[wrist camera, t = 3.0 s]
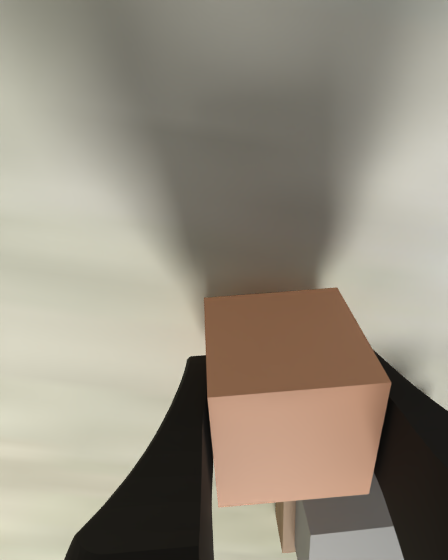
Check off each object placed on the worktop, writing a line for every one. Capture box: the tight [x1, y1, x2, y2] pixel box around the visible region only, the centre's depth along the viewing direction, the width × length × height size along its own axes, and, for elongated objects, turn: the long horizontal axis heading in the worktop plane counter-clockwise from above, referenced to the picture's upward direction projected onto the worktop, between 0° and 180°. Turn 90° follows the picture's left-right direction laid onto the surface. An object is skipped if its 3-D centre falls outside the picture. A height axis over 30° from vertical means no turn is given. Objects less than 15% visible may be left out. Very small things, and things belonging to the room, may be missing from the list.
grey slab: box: [295, 472, 404, 560], centre depth 19 cm, size 6×6×2 cm
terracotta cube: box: [204, 288, 391, 507], centre depth 13 cm, size 4×4×4 cm
